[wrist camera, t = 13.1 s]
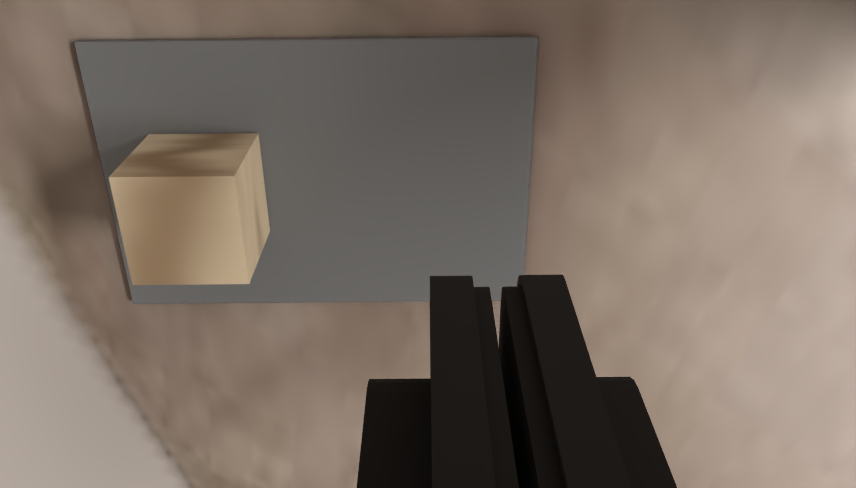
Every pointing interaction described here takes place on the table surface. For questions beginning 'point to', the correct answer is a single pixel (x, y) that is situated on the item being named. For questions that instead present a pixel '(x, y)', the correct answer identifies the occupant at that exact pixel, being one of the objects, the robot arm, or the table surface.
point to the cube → (192, 208)
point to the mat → (342, 154)
